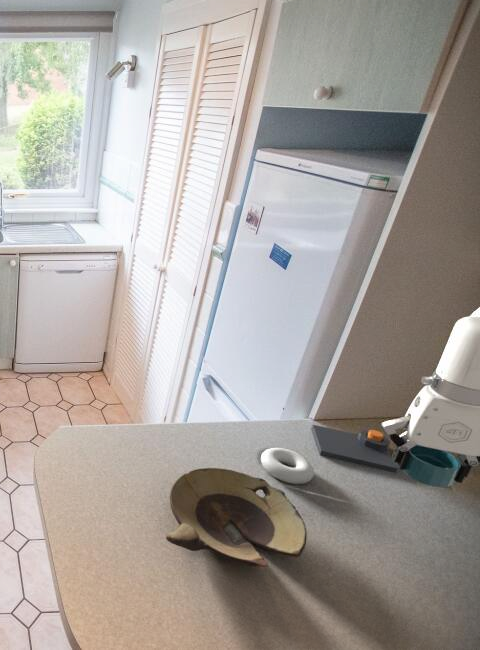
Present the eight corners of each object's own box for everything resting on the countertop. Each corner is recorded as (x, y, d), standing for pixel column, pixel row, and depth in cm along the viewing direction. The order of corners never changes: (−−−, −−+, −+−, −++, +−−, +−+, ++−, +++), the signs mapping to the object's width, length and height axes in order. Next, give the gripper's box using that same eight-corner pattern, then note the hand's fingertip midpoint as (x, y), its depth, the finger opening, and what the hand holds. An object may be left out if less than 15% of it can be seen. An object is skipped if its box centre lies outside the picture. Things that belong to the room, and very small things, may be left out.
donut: (275, 451, 109) (249, 464, 105) (279, 439, 108) (253, 452, 103) (321, 478, 101) (295, 493, 96) (325, 465, 99) (299, 480, 95)
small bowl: (441, 468, 85) (450, 448, 83) (458, 494, 79) (468, 474, 77) (392, 457, 88) (400, 438, 86) (406, 482, 82) (414, 462, 80)
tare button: (379, 436, 109) (381, 431, 108) (382, 443, 107) (385, 437, 106) (365, 433, 110) (367, 428, 109) (368, 440, 108) (370, 434, 107)
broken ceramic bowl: (335, 570, 80) (348, 539, 77) (175, 592, 77) (182, 561, 74) (247, 479, 100) (255, 451, 98) (119, 493, 97) (122, 465, 94)
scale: (381, 443, 110) (385, 433, 109) (397, 473, 101) (401, 463, 100) (310, 428, 116) (314, 418, 115) (319, 455, 107) (323, 445, 106)
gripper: (403, 389, 77) (371, 471, 83) (550, 412, 69) (502, 500, 76) (388, 368, 83) (360, 446, 90) (522, 388, 76) (480, 471, 82)
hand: (426, 470), depth 83 cm, fingers closed on small bowl, 7 cm apart
